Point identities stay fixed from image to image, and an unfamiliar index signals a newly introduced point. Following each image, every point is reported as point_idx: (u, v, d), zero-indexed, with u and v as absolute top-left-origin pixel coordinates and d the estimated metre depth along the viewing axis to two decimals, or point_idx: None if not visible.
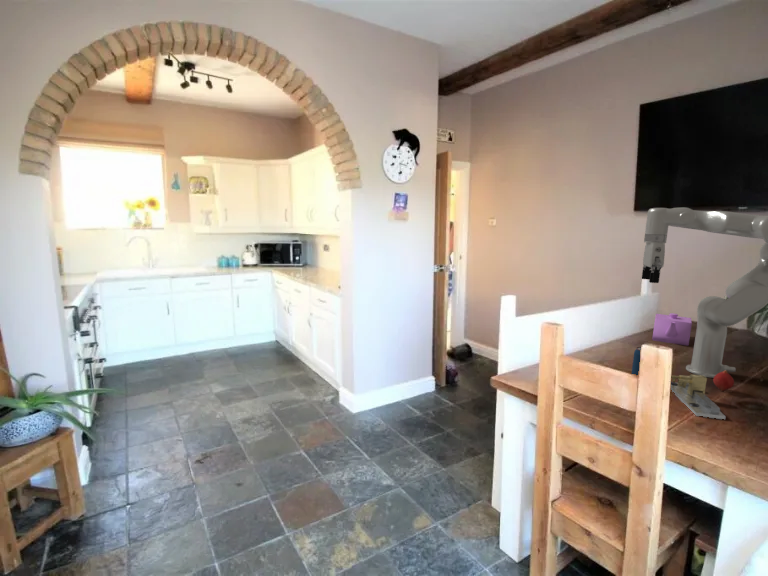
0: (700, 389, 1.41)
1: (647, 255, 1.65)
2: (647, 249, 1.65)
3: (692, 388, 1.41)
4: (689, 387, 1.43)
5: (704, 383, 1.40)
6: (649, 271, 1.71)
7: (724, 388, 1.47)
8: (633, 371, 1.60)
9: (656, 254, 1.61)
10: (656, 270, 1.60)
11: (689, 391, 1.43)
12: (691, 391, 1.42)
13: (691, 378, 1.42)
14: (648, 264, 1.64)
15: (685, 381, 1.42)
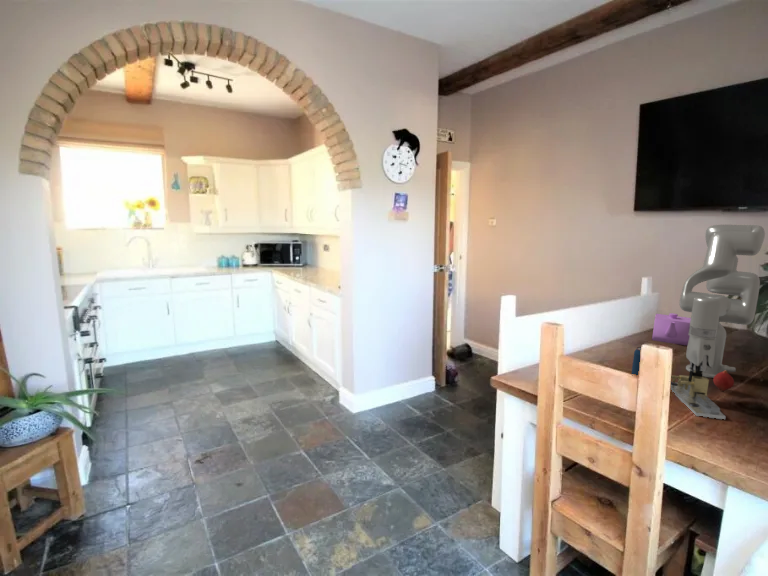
0: (702, 391, 1.39)
1: (693, 351, 1.41)
2: (693, 343, 1.41)
3: (694, 390, 1.40)
4: (691, 389, 1.41)
5: (706, 385, 1.39)
6: None
7: (724, 388, 1.47)
8: (633, 371, 1.60)
9: (704, 352, 1.37)
10: (698, 371, 1.40)
11: (691, 393, 1.41)
12: (693, 393, 1.40)
13: (693, 380, 1.41)
14: (694, 362, 1.40)
15: (687, 383, 1.41)
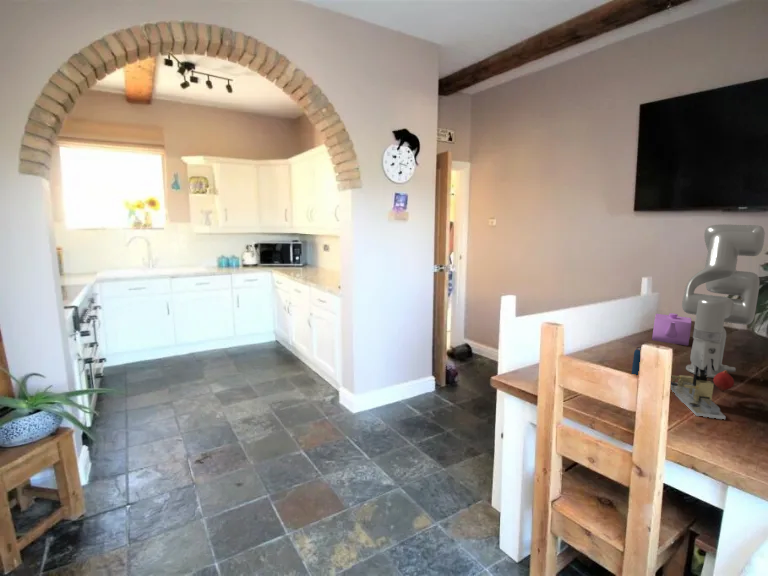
0: (707, 395, 1.36)
1: (697, 354, 1.38)
2: (697, 347, 1.38)
3: (698, 394, 1.37)
4: (695, 393, 1.38)
5: (711, 389, 1.35)
6: None
7: (724, 388, 1.47)
8: (633, 371, 1.60)
9: (709, 356, 1.34)
10: (703, 374, 1.37)
11: (695, 397, 1.38)
12: (697, 397, 1.37)
13: (697, 384, 1.37)
14: (699, 365, 1.37)
15: (691, 387, 1.38)
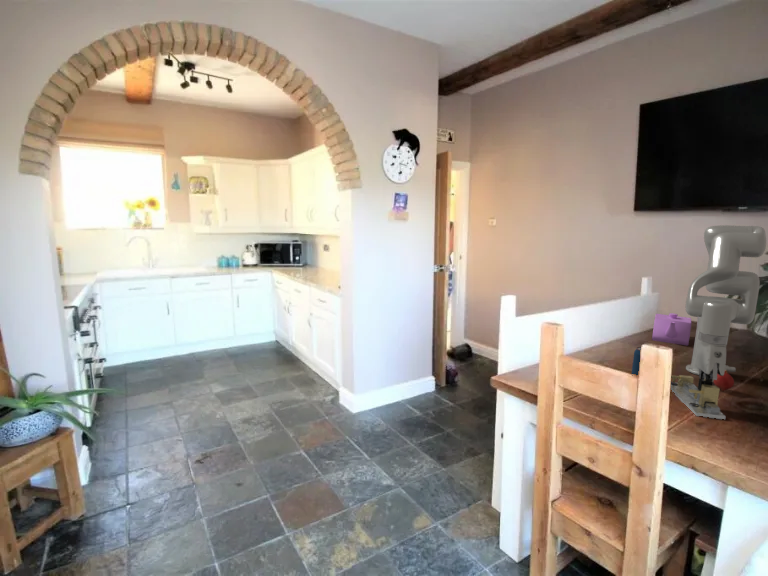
0: (712, 400, 1.32)
1: (702, 358, 1.34)
2: (702, 350, 1.34)
3: (704, 399, 1.33)
4: (700, 398, 1.34)
5: (717, 394, 1.32)
6: None
7: (724, 388, 1.47)
8: (633, 371, 1.60)
9: (715, 360, 1.30)
10: (709, 379, 1.33)
11: (700, 402, 1.34)
12: (703, 402, 1.33)
13: (703, 388, 1.33)
14: (704, 370, 1.33)
15: (696, 391, 1.34)
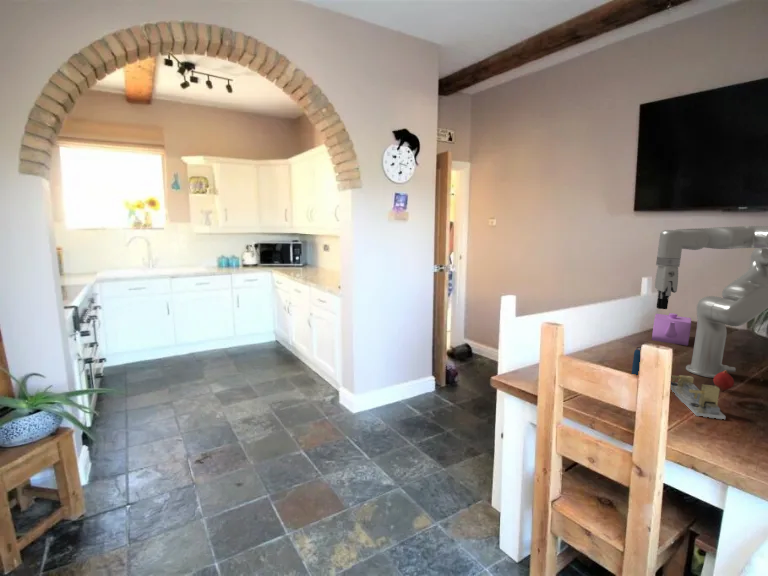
0: (712, 400, 1.32)
1: (659, 279, 1.58)
2: (659, 273, 1.58)
3: (704, 399, 1.33)
4: (701, 398, 1.34)
5: (717, 394, 1.32)
6: None
7: (724, 388, 1.47)
8: (633, 371, 1.60)
9: (669, 278, 1.54)
10: (664, 296, 1.57)
11: (701, 402, 1.34)
12: (703, 402, 1.33)
13: (703, 388, 1.33)
14: (660, 288, 1.57)
15: (696, 392, 1.34)
